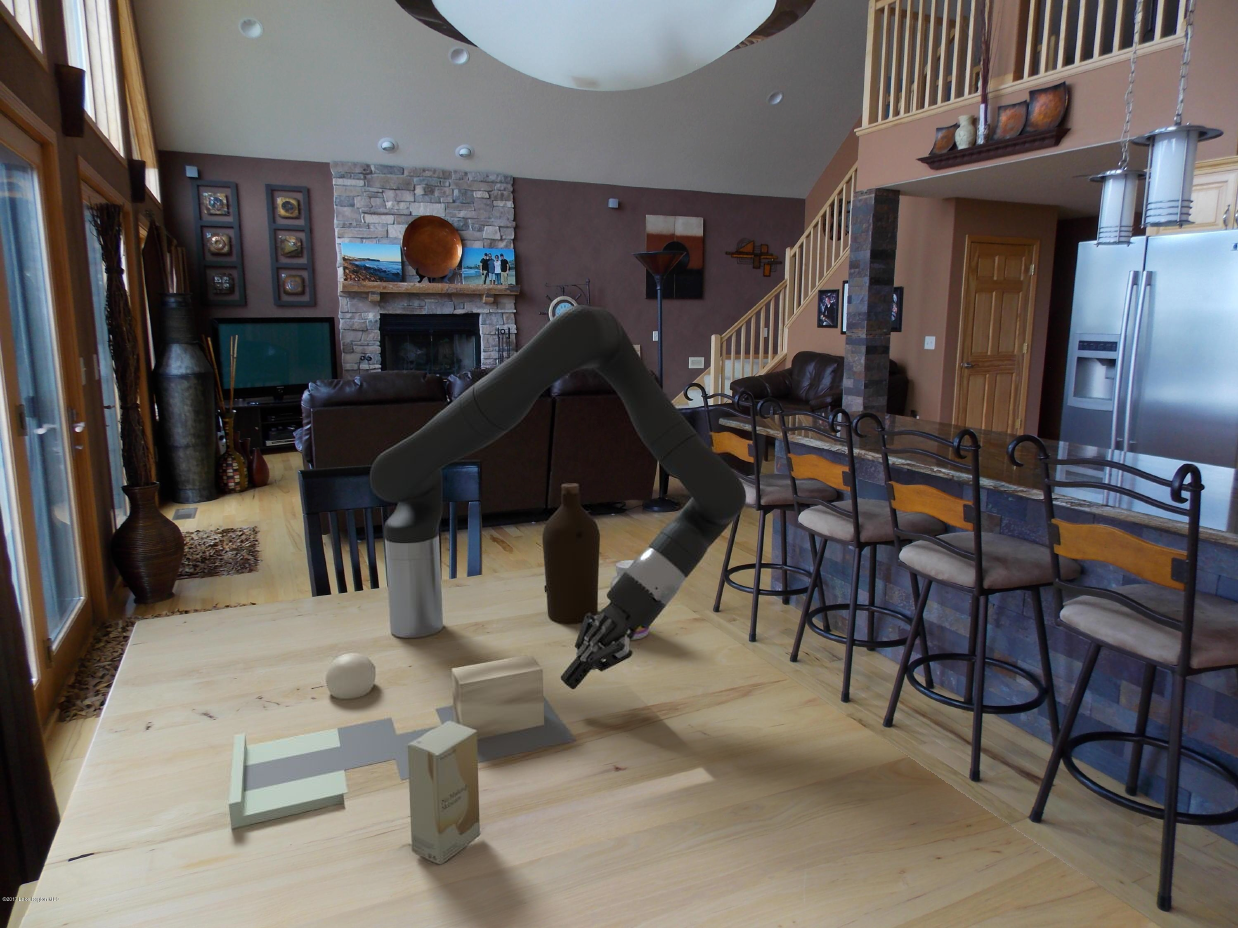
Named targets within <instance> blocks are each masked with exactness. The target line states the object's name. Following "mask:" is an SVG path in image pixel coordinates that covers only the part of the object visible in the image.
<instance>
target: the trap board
mask: <svg viewBox="0 0 1238 928" xmlns="http://www.w3.org/2000/svg"><path fill="white" fill-rule="evenodd" d="M543 700H544V725H541V726H536V727H531V728H527V729H522V730H517V731H513V732H508V733H503V734H499V735H494V736H490V737H485V738H480V739H477V752H478V764H479V763H483V762H488V761H492V760H497V759H501V758H505V757H511V756H514V755H518V754H525V753H528V752H531V751H536V750H541V749H545V748H549V747H553V746H554V747H555V746H559V745H563V744H569V743H571V742H576V741H577V739H576V738H575V737H574V736H573V734H572V733H571V731H570V730H569V729H568V727H567V726H566V724H565V723H564V722H563V720H562V719H561V718H560V717H559V715H558V714H557V712H556V711H555V709H554V708H553V707H552V705H551V704H550V702H549V701H548V700H547V698H546V697H545V696H544V695H543ZM435 711H436V713H437V716H438V719H439V721H440V723H441V725H442V724H444V723H445V722H447V721H452V722H454V707H453V704H452V705H447V706H443V707H437V708H435ZM438 726H439V725H436V726H432V727H427V728H421V729H416V730H413V731H407V732H403V733H398V734H397V732H396V729H395V725H394V722H393V719H392V717H387V718H382V719H377V720H371V721H365V722H362V723H361V722H360V723H356V724H352V725H346V726H341V727H336V728H331V729H326V730H321V731H316V732H311V733H306V734H300V735H295V736H291V737H284V738H280V739H276V740H269V741H265V742H260V743H254V744H250V745H247V739H246V732H244V733H239V734H234V739H233V751H232V760H231V761H232V763H231V775H230V787H229V795H228V797H229V798H228V811H229V819H230V829H231V830H233V829H235V828H241V827H245V826H249V825H254V824H257V823H261V822H267V821H271V820H276V819H279V818H283V817H287V816H288V817H289V816H293V815H297V814H301V813H305V812H309V811H314V810H317V809H322V808H326V807H333V806H335V805H340V804H344V803H345V798H344V794H347V793H349V792H348V786H347V785H348V784H347V779H346V773H345V771H347V770H354V769H357V768H358V769H359V768H361V767H365V766H366V767H367V766H372V765H376V764H380V763H384V762H389V761H394V760H395V763H396V768H397V771H398V774H399V778H400V781H405V780H409V768H408V743H410V742H412V741H414V740H416V739H417V738H419V737H421V736H423V735H424V734H425V733H427V732H429V731H430V730H433V729H435V728H437V727H438Z"/></svg>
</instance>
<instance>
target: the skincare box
mask: <svg viewBox="0 0 1238 928" xmlns="http://www.w3.org/2000/svg"><path fill="white" fill-rule="evenodd" d="M437 726H438V727H437V728H435V729H433V730H430V731H429V732H427V733H425V734H424V735H423V736H421V737H419V738H417V739H416V740H414V741H412V742H410V743H408V768H409V779H408V788H409V789H408V790H409V811H410V812H409V815H410V839H411V851H412V852H413V853H415V854H417V855H419V856H421V857H422V858H424V859H426V860H429V861H431V862H433V863H435V864H438V865H443V864H444V863H445V862H446V861H448V860H449V859H451V858H452V857H453V856H454V855H456V854H457V853H458V852H460V851H461V850H462V849H464V848H465V847H466V846H467V845H469V844H470V843H471V842H472V841H474V840H475V839H476V838H477V837H479V836H480V835H481V829H480V828H481V827H480V823H481V822H480V795H479V794H480V792H479V791H480V789H479V763H478V752H477V730H474V729H471V728H469V727H466V726H463V725H461V724H458V723H455V722H452V721H447V722H445V723H444V724H442V723H441V724H440V725H437Z"/></svg>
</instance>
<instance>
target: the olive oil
mask: <svg viewBox="0 0 1238 928" xmlns="http://www.w3.org/2000/svg"><path fill="white" fill-rule="evenodd" d="M579 488H580V484H578V483H575V482H574V483H573V482H571V483H569V482H566V483H563V484H561V492H560V497H561V505H560V506H559V507H558V508H557V509H556V511H555V512H553V514H552V515H551V516H550V518H549V519H547V521H546V522H545V524H544V527H543V530H542V531H543V532H542V535H541V536H542V538H541V539H542V551H543V563H544V574H545V575H544V576H545V577H544V579H545V585H544V593H545V594H546V607H547V608H546V609H547V616H548V618H549V619H550V620H552V621H554V622H556V623H561V624H580V623H581V624H583V621H584V618H585V616H586V615H587V614H588V613H591V614H592V615H593V616H596V615H598V614H599V613H598V609H599V608H598V607H599V605H598V604H599V601H598V600H599V570H600V567H599V566H600V546H601V545H600V544H601V543H600V542H601V534H600V529H599V526H598V524H597V522H596V520H595V519H594V518H593V517H592V515H591V514H589V513H588V512H587V510H586V509H584V508H583V506H582V505H581V503H580V502H581V501H580V500H581V499H580V491H579Z"/></svg>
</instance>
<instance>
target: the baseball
mask: <svg viewBox="0 0 1238 928" xmlns="http://www.w3.org/2000/svg"><path fill="white" fill-rule="evenodd" d="M376 672H377V671H376V665H375V664H374V663H373V662H372V660H371V659H370V658H369V657H368V656H365V655H364V654H361V653H356V652H350V653H345V654H342V655H340V656H338V657H336V658H335V659H334V660H333V661H332V662H331V663H330V665H329V666H328V668H327V671H326V673H325V684H326V688H327V691H329V693H330V695H332V697H334V698H336V699H338V700H352V699H357V698H362V697H364V696H365V695H367V694H368V693H370V692H371V690H372V688H373V687H374V684H375V681H376V677H377V673H376Z"/></svg>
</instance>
